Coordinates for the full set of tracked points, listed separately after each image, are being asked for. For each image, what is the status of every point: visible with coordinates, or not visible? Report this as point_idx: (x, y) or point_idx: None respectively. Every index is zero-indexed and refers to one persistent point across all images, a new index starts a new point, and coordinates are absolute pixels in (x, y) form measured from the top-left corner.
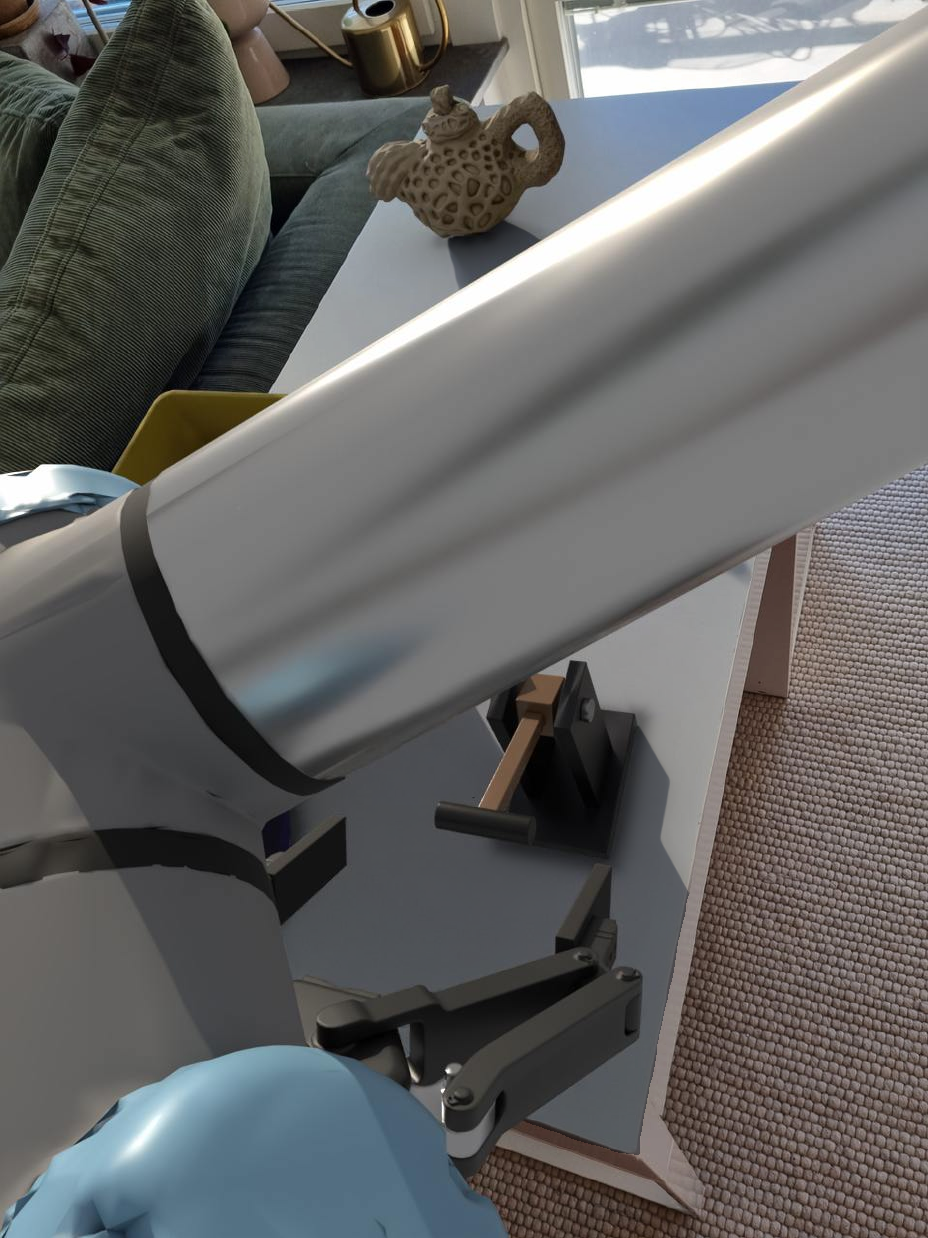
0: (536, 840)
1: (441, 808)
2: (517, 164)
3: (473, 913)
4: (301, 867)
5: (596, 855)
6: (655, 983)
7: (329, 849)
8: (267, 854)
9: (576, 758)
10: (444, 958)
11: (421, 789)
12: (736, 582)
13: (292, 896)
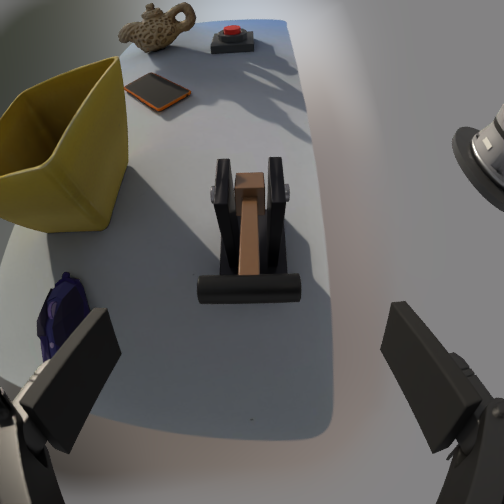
0: None
1: (203, 283)
2: (177, 24)
3: (211, 345)
4: (68, 381)
5: None
6: (330, 357)
7: (97, 347)
8: None
9: (279, 230)
10: (200, 374)
11: (160, 275)
12: (310, 144)
13: (71, 414)
